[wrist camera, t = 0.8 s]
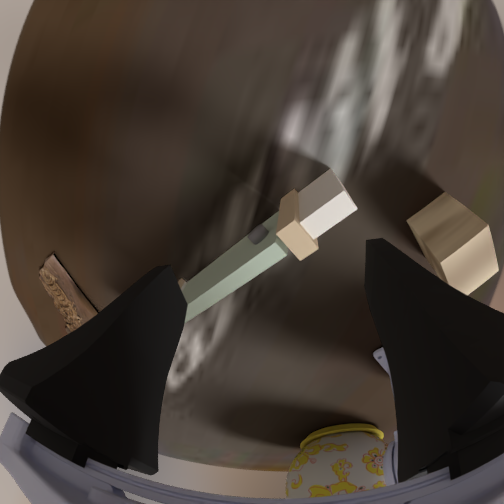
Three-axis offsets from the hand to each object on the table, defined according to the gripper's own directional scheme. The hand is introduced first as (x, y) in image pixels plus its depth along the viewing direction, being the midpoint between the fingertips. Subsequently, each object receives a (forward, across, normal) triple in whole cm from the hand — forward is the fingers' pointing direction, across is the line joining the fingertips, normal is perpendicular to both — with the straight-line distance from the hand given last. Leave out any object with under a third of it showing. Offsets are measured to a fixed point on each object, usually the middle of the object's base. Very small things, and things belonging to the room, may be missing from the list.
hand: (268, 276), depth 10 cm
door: (+9, +4, +4) cm, 11 cm away
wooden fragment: (+11, +27, +15) cm, 33 cm away
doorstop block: (+9, -12, +4) cm, 16 cm away
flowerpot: (+8, -6, +42) cm, 43 cm away
